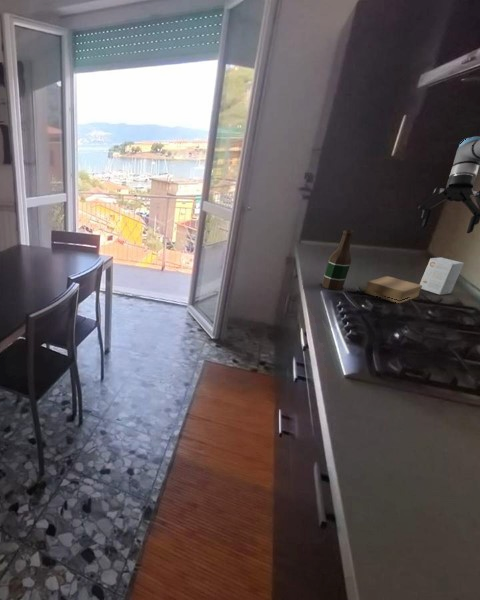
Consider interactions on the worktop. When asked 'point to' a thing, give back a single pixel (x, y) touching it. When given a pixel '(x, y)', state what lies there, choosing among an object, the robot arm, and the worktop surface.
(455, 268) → the small box
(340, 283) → the beer bottle
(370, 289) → the birch block
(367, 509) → the worktop surface
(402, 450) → the worktop surface
